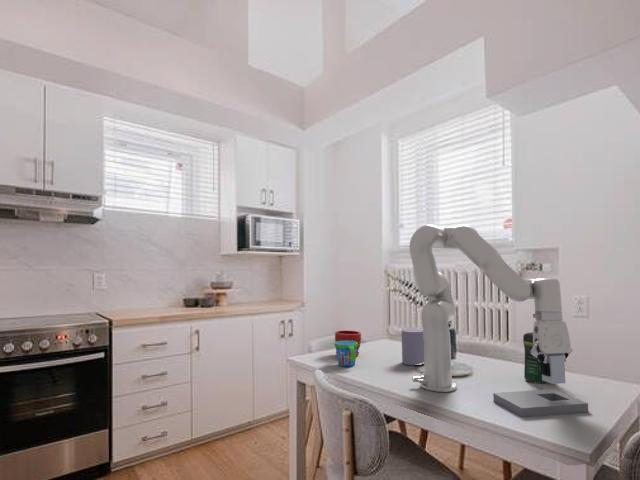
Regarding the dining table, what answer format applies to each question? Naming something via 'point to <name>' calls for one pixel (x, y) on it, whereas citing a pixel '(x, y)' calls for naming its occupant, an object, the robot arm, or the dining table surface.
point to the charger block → (555, 369)
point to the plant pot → (348, 337)
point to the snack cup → (346, 352)
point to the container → (412, 346)
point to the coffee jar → (531, 361)
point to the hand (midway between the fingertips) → (553, 374)
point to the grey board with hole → (540, 402)
